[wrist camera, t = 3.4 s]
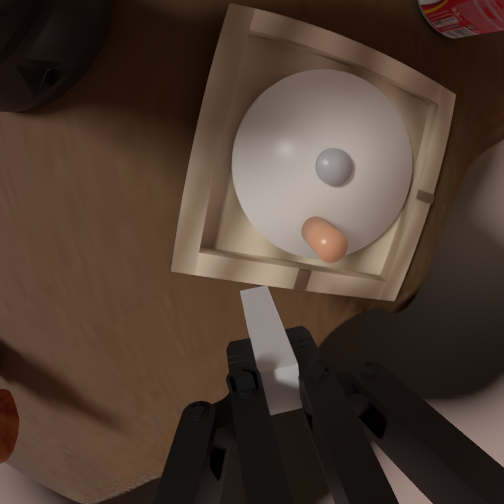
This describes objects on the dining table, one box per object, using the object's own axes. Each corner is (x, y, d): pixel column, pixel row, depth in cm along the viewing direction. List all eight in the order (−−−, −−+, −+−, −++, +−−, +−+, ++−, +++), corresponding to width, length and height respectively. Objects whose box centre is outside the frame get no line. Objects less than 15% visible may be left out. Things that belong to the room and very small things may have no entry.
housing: (173, 260, 27) (170, 272, 25) (227, 12, 20) (230, 1, 18) (384, 291, 32) (396, 302, 30) (442, 94, 25) (457, 94, 22)
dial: (213, 237, 26) (215, 262, 22) (257, 47, 21) (269, 29, 16) (376, 266, 30) (403, 289, 25) (421, 109, 24) (456, 110, 20)
